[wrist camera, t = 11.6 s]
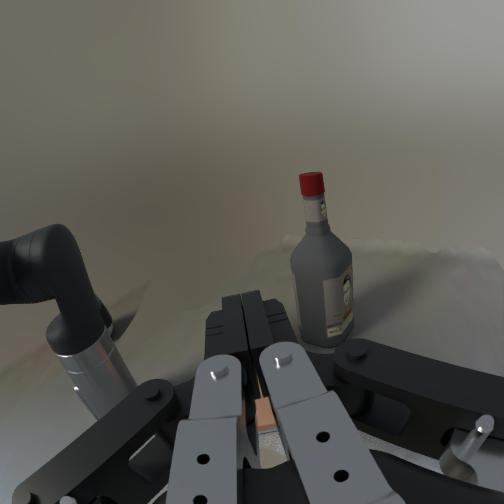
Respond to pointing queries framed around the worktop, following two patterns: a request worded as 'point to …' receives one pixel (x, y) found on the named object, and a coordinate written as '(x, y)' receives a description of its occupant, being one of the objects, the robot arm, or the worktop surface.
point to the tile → (264, 415)
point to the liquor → (321, 273)
